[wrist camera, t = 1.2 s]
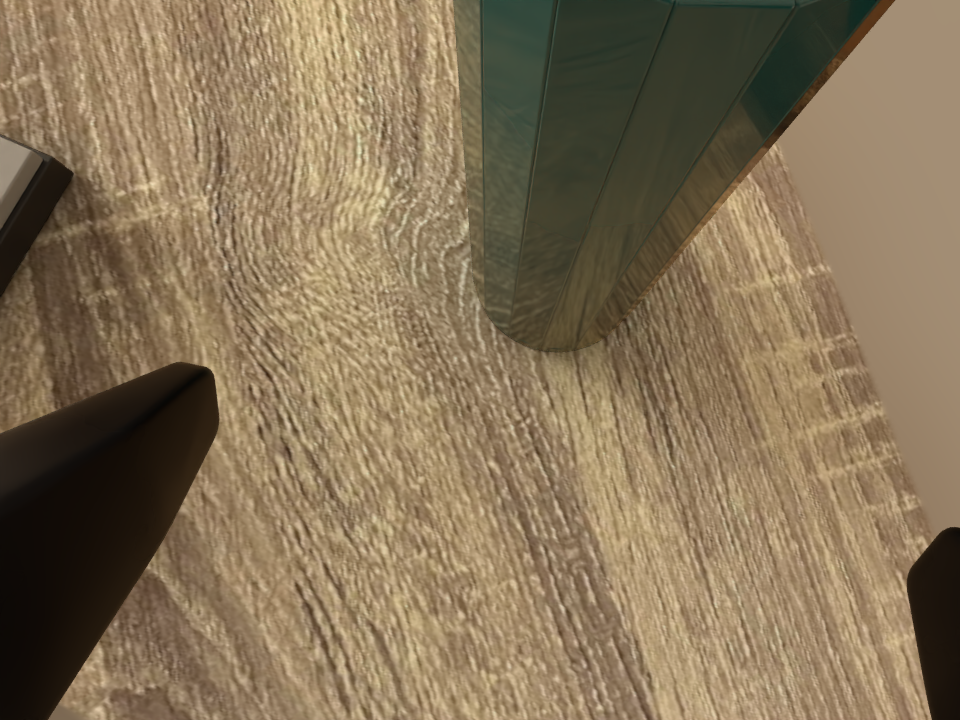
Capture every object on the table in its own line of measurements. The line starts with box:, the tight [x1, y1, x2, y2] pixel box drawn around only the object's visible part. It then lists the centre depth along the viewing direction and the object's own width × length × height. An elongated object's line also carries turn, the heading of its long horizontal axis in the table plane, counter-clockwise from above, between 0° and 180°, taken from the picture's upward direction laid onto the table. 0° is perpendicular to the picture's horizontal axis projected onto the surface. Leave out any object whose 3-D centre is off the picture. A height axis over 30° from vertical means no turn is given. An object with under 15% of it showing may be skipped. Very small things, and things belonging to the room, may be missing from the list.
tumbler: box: [453, 0, 895, 352], centre depth 14 cm, size 6×6×16 cm
